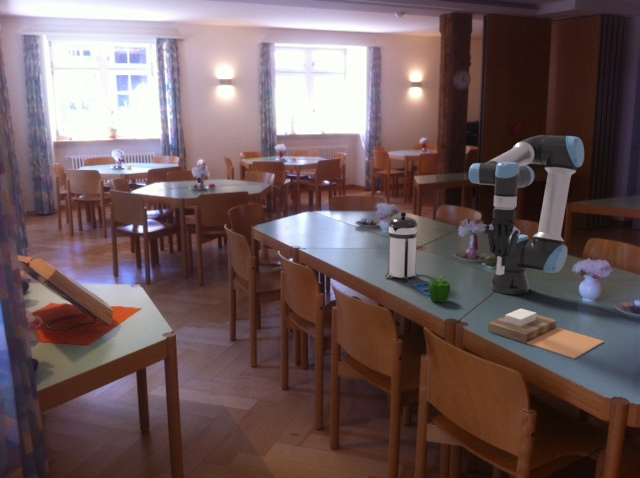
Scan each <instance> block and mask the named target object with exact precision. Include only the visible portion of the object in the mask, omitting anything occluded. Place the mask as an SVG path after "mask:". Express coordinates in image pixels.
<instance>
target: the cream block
mask: <svg viewBox="0 0 640 478" xmlns="http://www.w3.org/2000/svg"><path fill="white" fill-rule="evenodd" d="M536 314H537V312H535V311H531V310H528V309H524V308H519V309H516V310H514V311H511V312H509V313H506V314H505V315H504V316H505V322H507V323H510V324H514V325H517V326H520V327H521V326H523V325H525V324H527V323H529V322H532V321H534V320H536Z"/></svg>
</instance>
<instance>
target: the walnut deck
mask: <svg viewBox="0 0 640 478" xmlns="http://www.w3.org/2000/svg"><path fill="white" fill-rule="evenodd" d="M557 323H558V320H557V319H554V318H552V317H547V316H545V315H540V314H538V313H536V320H534V321H532V322H529V323H527V324H525V325H523V326H521V327H520V326H517V325H514V324H510V323H507V322H505V315H504V316H502V317H500V318H496V319H495V320H492V321H490V322H488V329H487V331H488V332H490V333H493V334H495V335H498V336H499V335H500V336H501V337H505V338H508V339H512V340H515V341H518V342H520V343H523V344H527V342H529V341H531V340H533V339H535V338H537V337H539V336H541V335H543V334H545V333H547V332H549V331H551V330H553V329H556V328H557Z"/></svg>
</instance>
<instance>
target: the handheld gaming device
mask: <svg viewBox="0 0 640 478" xmlns="http://www.w3.org/2000/svg"><path fill="white" fill-rule="evenodd" d="M429 283H430V282H427V283H416V284H412V287H413V288H414V289H416V290H418V291H419V292H420V293H422V294H423V295H425V296H427V297H430V293H429Z"/></svg>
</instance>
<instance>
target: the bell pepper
mask: <svg viewBox="0 0 640 478" xmlns="http://www.w3.org/2000/svg"><path fill="white" fill-rule="evenodd" d="M444 278H445V276H444V275H441V276H440V277H439V279H437V280H430V282H428V283H429V293H430V296H429V297H430V300H431V301H432V302H435V303H446V302H447V301H448V300H449V297H450V292H451V285H450V283H449V282H448V280H443V279H444Z"/></svg>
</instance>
